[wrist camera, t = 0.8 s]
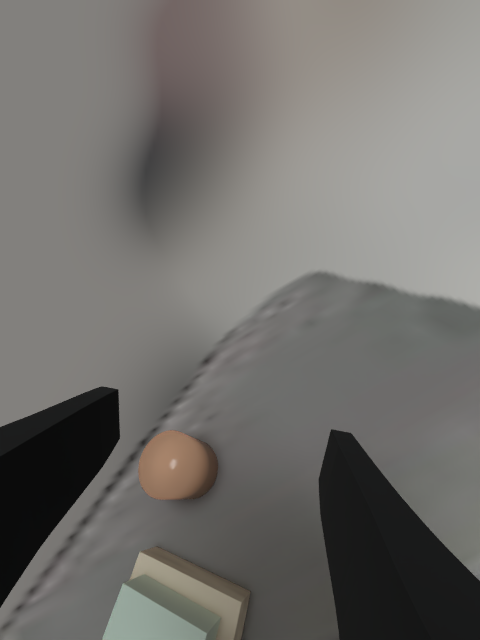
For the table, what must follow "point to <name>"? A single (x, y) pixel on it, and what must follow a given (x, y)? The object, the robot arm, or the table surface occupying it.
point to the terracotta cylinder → (177, 467)
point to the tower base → (198, 588)
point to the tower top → (158, 614)
